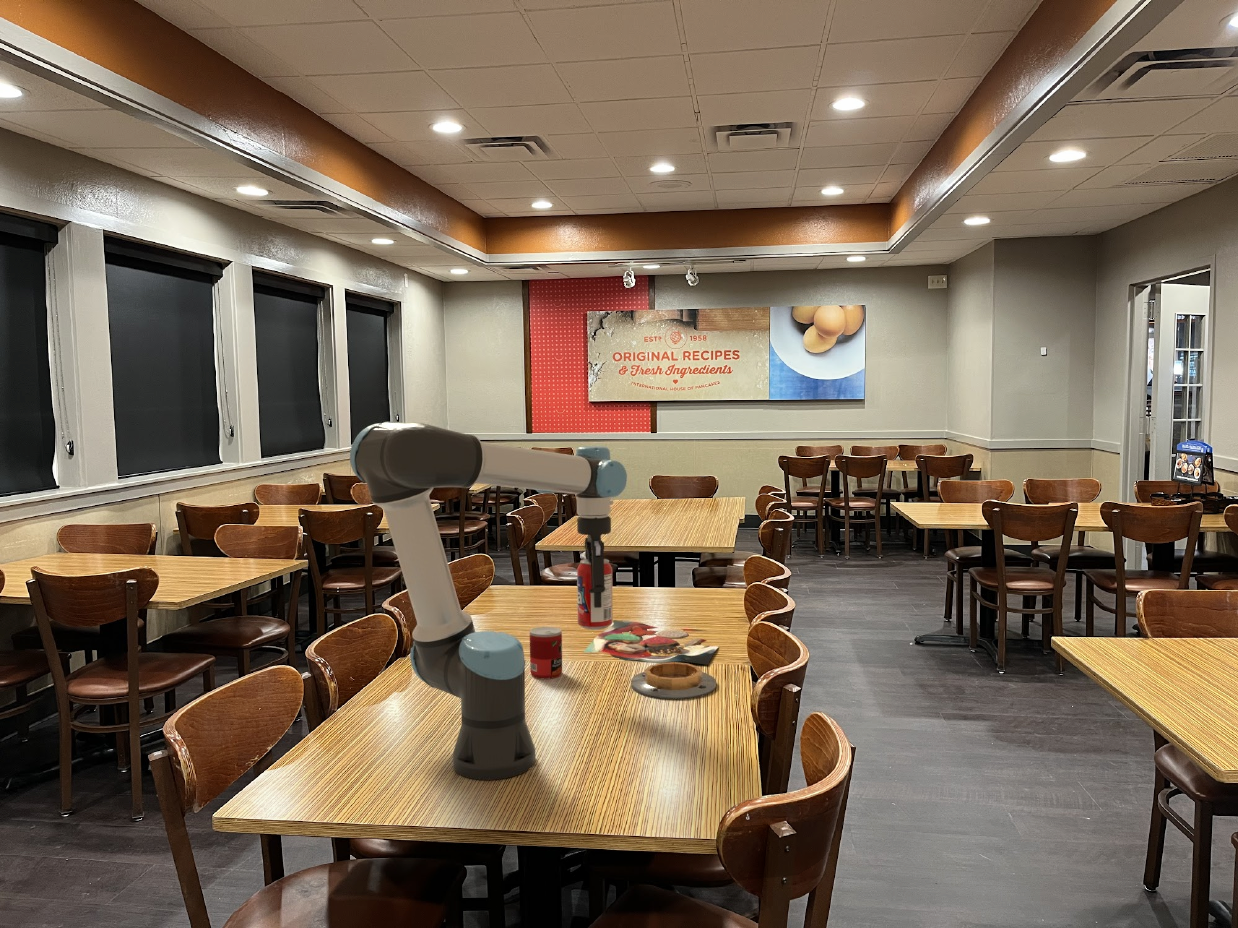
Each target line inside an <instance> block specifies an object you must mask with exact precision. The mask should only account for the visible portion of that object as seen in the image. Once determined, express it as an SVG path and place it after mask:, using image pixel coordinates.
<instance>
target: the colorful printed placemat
mask: <svg viewBox="0 0 1238 928" xmlns="http://www.w3.org/2000/svg"><path fill="white" fill-rule="evenodd" d="M647 629H649V630H647ZM653 629H659V627H658V626H657V627H656V626H654V625H649V624H646V623H642V622H638V621H637V622H636V621H628V620H627V621H626V620H616V619H615V620H613V622H612V624H611V625H610V626H608V627H607V628H606V629H605V630H604V631H603V632H601V633H598V634H597V635H596V636H595V637H594V639H593V640H592V641H591V642H590V644H588V646H587V647H586V648H585V649H584V651H583V653H606V654H609V655H610V657H612V658H614V659H618V658H619V659H618V660H622V661H628V662H629V661H630V662H631V661H641V662H647V663H655V664H659V663H669V662H682V663H686V662H687V663H691V664H692V663H693V664H700V665H709V663H710V661H711V660H712V658H713V655H714V654H715V653H716V650H717V649H718V648H719V646H716V645H706V644H702V643H705V642H707V641H708V640H707V639H705V638H704V639H703V638H694V639H691V640H689V641H688V642H686V643H684V644H683V645H681V646H680V643H679V642H678V641H677V640H680V639H685V638H688V637H690V635H689V633H687V632H702V631H703V632H704V631H705V632H706V631H709V630H706V629H697V628H696V629H694V628H681V630H682V631H680V630H679V631H678V630H662V631H658V630H653ZM629 631H631V632H630V633H622V632H629ZM656 632H658V633H656ZM644 636H652V637H649V638H646V639H644V638H643V637H644ZM678 646H680V647H678Z"/></svg>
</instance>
